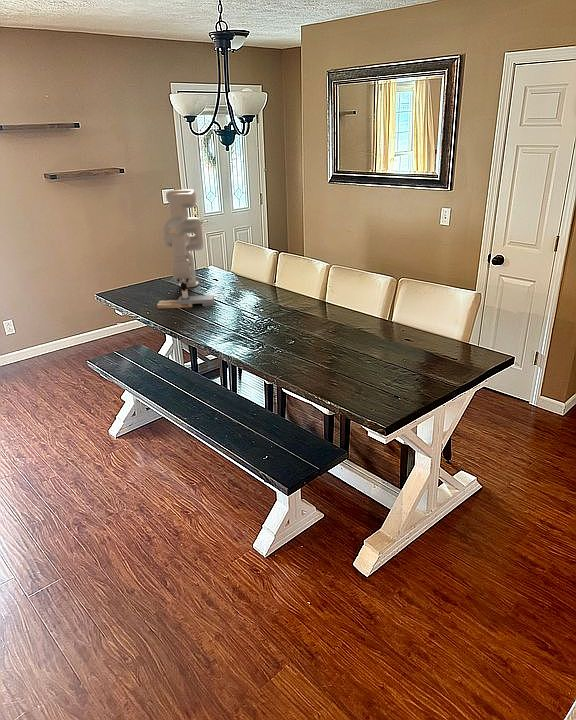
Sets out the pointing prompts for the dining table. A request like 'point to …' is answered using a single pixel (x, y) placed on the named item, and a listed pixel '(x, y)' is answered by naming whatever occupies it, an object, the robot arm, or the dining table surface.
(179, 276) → the robot arm
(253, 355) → the dining table surface
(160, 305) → the link
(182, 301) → the link
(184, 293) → the pin
